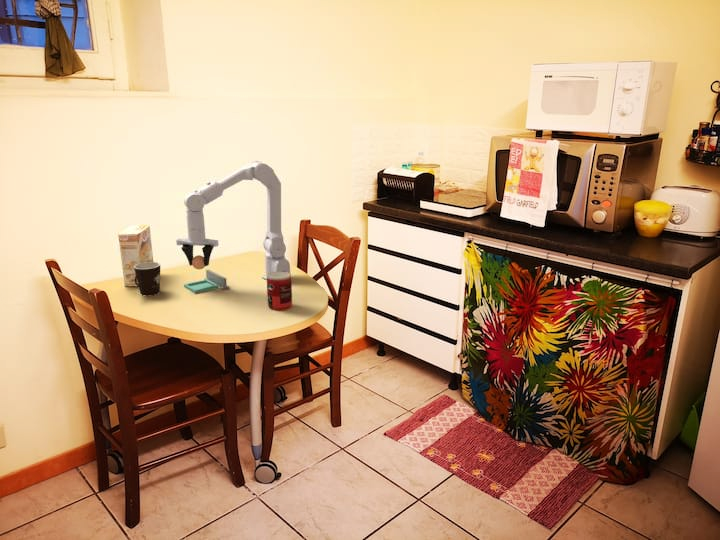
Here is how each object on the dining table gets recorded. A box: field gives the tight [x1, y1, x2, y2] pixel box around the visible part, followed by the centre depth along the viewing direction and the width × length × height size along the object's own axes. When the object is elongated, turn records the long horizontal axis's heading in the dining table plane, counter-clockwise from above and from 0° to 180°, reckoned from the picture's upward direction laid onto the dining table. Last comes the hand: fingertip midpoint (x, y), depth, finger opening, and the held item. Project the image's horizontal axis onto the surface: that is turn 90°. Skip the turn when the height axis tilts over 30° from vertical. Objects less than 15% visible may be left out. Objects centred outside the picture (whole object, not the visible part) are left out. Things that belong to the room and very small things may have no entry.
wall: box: [203, 269, 230, 291], centre depth 199 cm, size 14×3×4 cm, turn 41°
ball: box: [192, 254, 206, 270], centre depth 193 cm, size 5×5×5 cm
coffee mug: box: [134, 261, 161, 297], centre depth 187 cm, size 12×9×10 cm
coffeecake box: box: [117, 224, 154, 285], centre depth 201 cm, size 15×7×20 cm, turn 4°
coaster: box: [183, 278, 220, 294], centre depth 195 cm, size 9×9×1 cm
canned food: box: [266, 271, 293, 311], centre depth 177 cm, size 8×8×11 cm
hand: (199, 265), depth 193 cm, fingers closed on ball, 5 cm apart
